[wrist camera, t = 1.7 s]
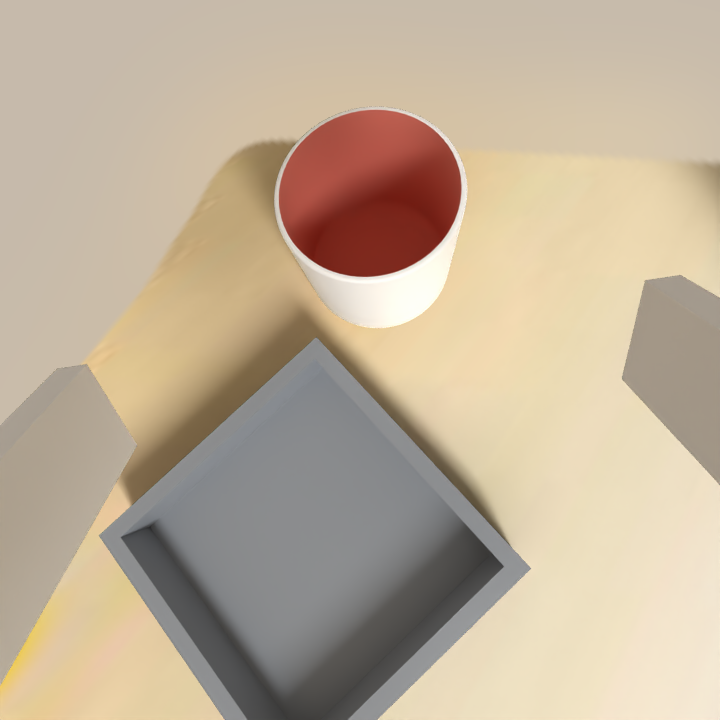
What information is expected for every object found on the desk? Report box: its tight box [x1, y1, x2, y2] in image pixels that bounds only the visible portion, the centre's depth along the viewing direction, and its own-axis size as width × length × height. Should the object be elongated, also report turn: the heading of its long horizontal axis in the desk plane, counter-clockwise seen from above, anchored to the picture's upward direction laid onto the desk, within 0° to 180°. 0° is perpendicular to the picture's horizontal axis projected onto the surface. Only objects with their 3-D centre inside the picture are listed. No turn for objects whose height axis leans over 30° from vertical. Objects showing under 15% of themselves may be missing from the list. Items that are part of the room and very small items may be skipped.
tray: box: [99, 337, 531, 720], centre depth 26 cm, size 18×18×4 cm
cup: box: [274, 107, 467, 328], centre depth 27 cm, size 10×10×10 cm
